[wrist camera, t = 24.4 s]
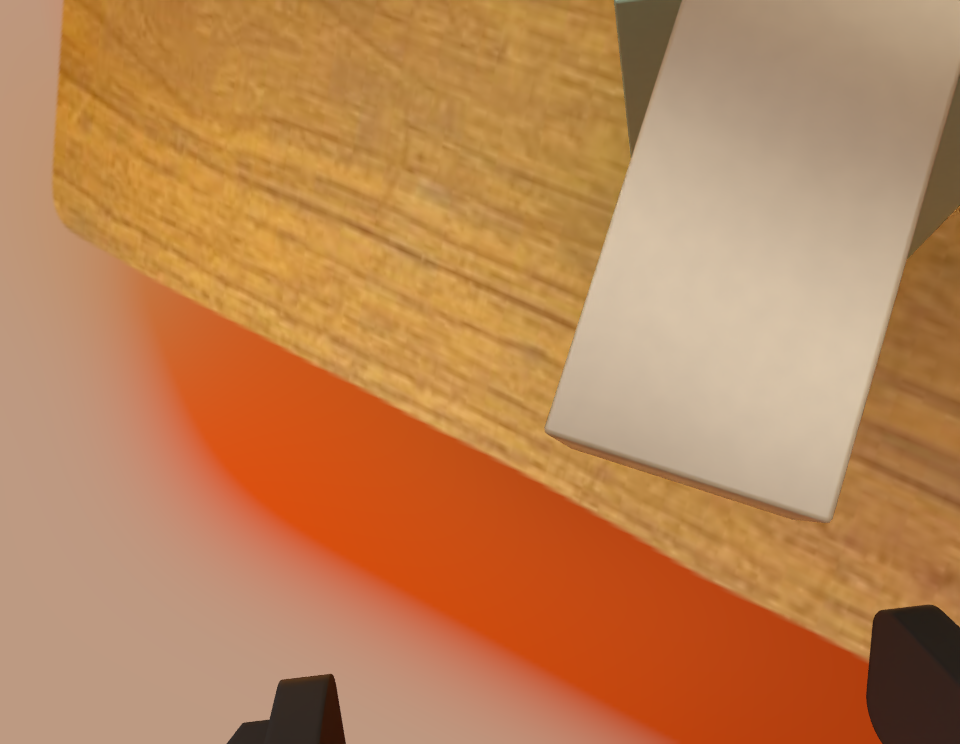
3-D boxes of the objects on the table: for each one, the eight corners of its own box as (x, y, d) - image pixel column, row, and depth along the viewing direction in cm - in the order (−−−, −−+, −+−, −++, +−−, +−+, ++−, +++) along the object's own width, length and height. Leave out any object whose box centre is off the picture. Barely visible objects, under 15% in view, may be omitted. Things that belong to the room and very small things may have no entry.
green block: (888, 279, 33) (1224, -66, 13) (644, 287, 36) (613, 2, 15) (876, 59, 35) (1161, -550, 15) (644, 79, 37) (615, -424, 17)
